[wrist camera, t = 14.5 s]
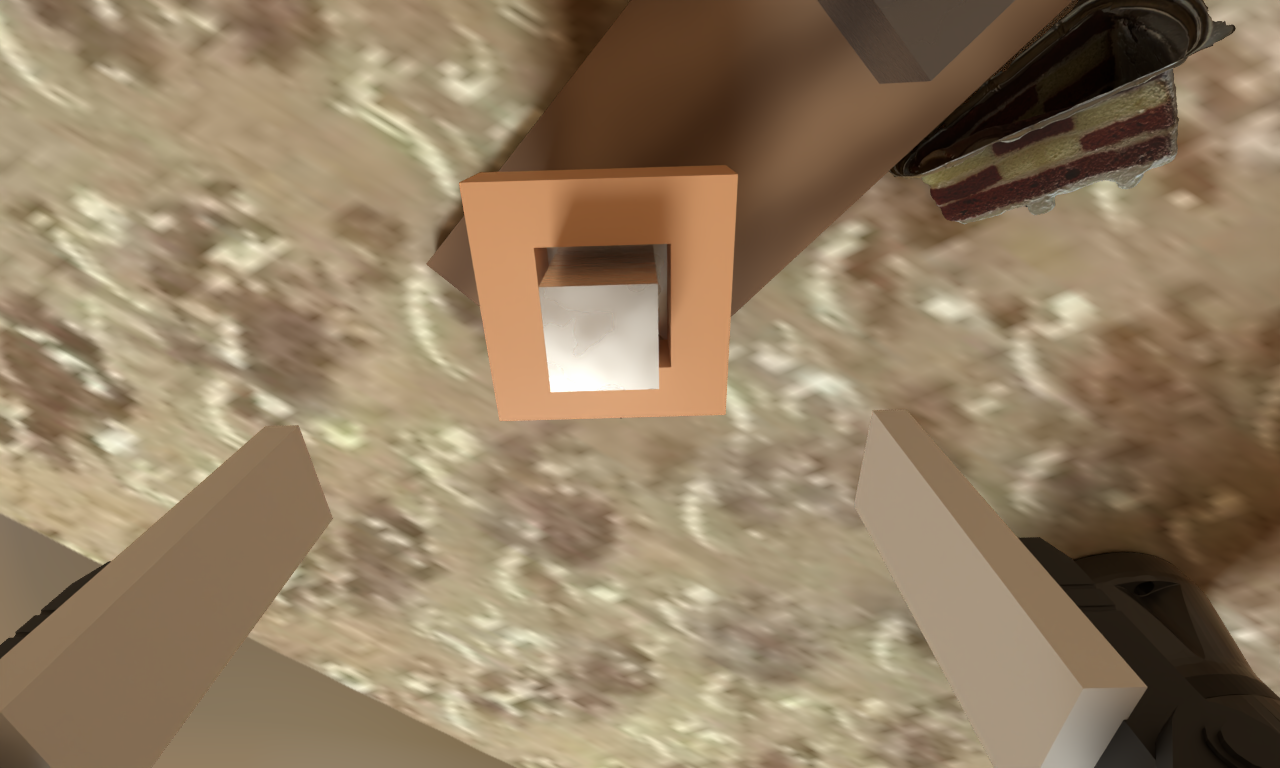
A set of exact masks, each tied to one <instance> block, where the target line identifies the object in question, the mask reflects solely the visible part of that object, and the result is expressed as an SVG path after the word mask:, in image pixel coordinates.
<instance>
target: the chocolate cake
mask: <svg viewBox="0 0 1280 768" xmlns="http://www.w3.org/2000/svg"><path fill="white" fill-rule="evenodd" d="M1207 11H1208V7H1207V6H1206V5H1205V3H1204V1H1203V0H1079V1H1078V3H1077V4H1076V6H1075V7H1074V8H1073V10H1072V11H1071V12H1069V13H1068V14H1067V15H1066V16H1065V17H1063V18H1062V19H1060V20H1059V21H1058V22H1057V23H1056V24H1055V25H1053V26H1052V27H1051V28H1050V29H1049V31H1047V33H1045V34H1044V35H1043V36H1042V37H1041V38H1040V39H1038V40H1037V41H1036V42H1034V43H1033V44H1032V45H1031V46H1030V47H1029V48H1028V49H1026V50H1025V51H1024V52H1022V53H1021V54H1020V55H1018V56H1017V58H1016V59H1015V60H1014V61H1013V62H1012V63H1011V65H1010V67H1009V69H1008V70H1007V71H1005V72H1002V71H1000V72H999V73H998V74H997V75H995V76H993V77H991V78H990V79H989V80H988V81H987V82H985V83H983V85H982V86H981V87H980V88H979V90H978V91H977V92H976V93H975V94H974V95H973V96H971V97H970V98H969V102H968V103H964V104H963V105H961V106H959V107H957V108H956V109H955V110H954V111H953V112H952V113H951V114H950V115H949V116H948V117H947V118H946V119H944V120H943V121H942V122H941V123H940V124H939V125H938V126H937V127H936V128H935V129H934V130H933V131H931V132H930V133H929V134H928V135H927V136H926V137H925V138H924V139H923V140H922V141H921V142H920V144H919V145H918V147H917V149H916V150H915V151H914V152H913V153H912V150H911V151H910V152H909V153H908V154H907V155H906V156H904V157H903V158H902V159H901V160H900V161H899V162H898V163H897V164H896V165H895V166H894V167H893V168H891V169H890V170H889V172H890V173H892V174H893V175H894V177H897V176H902V177H904V178H916V179H918V178H922V180H923V182H924V183H926V184H929V185H930V187H931V189H930V193H931V196H932V198H933V199H934V200H935V201H936V204H937V206H939V207H940V208H941V211H942V214H943V215H944V217H945V218H946V219H947V220H950V221H957V222H960V223H963V224H966V223H969V222H973V221H977V220H982V219H986V218H989V217H993V216H997V215H1000V214H1002V213H1004V212H1006V211H1008V210H1011V209H1014V208H1018V207H1022V206H1026V207H1028V209H1029V211H1030V212H1031V213H1032V214H1033V215H1039V214H1044V213H1047V212H1049V211H1051V210H1052V209H1053V208H1054V206H1055V196H1056V195H1060V194H1065V193H1068V192H1073V191H1075V190H1077V189H1080V188H1082V187H1085V186H1088V185H1091V184H1093V183H1095V182H1099V181H1103V180H1108V181H1114V182H1116V183H1117V184H1118V187H1120V188H1122V189H1130V188H1133V187H1134V186H1136V185H1137V184H1138V183H1139V182H1140V180H1141V178H1142V177H1143V174H1144V173H1145V172H1146V171H1148V170H1150V169H1152V168H1156V167H1159V166H1163V165H1165V164H1167V163H1169V162H1171V161H1172V160H1173V159H1174V158H1175V156H1176V154H1177V149H1178V148H1177V135H1178V132H1177V129H1178V122H1179V119H1178V117H1177V113H1178V112H1177V103H1176V87H1175V84H1174V74H1173V68H1175V67H1177V66H1180V65H1181V64H1182V63H1184V62H1185V61H1186V59H1187V57H1188V56H1190V55H1192V54H1194V53H1196V52H1198V51H1200V50H1202V49H1205V48H1207V47H1211V46H1213V44H1214V43H1215V42H1218V41H1220V40H1222V39H1224V38H1225V37H1227V36H1229V35H1230V34H1232V33H1233V32H1234V31H1235V29H1236V28H1235V26H1234V25H1226V23H1225V21H1224V22H1222V21H1217V22H1215V21H1212V19H1211V17H1210V16H1209V14H1208V13H1207ZM944 123H945V128H941V129H939V130H938V128H939V127H940V126H941V125H942V124H944ZM937 130H938V131H937Z"/></svg>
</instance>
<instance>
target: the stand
mask: <svg viewBox="0 0 1280 768" xmlns="http://www.w3.org/2000/svg"><path fill="white" fill-rule="evenodd" d="M817 1H818V2H819V4H820V5H821V6H822V8H823V9H824V10H825V12H826V13H827V14H828V16H829V17H830V18H831V20H832V21H833V23H834V24H835V25H836V27H837V28H838V29H839V31H840V32H841V33H842V35H843V36H844V37H845V39H846V40H847V41H848V43H849V44H850V45H851V47H852V48H853V49H854V51H855V52H856V53H857V55H858V56H859V57H860V59H861V60H862V61H863V63H864V64H865V65H866V67H867V68H868V69H869V71H870V72H871V73H872V75H873V76H874V77H875V79H876V80H877V81H878V83H879V84H886V83H906V82H925V81H932V80H933V79H934V78H935V77H936V76H937V75H938V74H939V73H940V72H941V71H942V70H943V69H944V68H945V67H946V66H947V65H948V64H949V63H950V62H952V61H953V60H954V59H955V58H956V57H957V56H958V55H959V54H960V53H961V52H962V51H963V50H964V49H965V48H966V47H967V46H968V45H969V44H970V43H971V42H972V41H973V40H974V39H975V38H977V37H978V36H979V35H980V34H981V33H982V32H983V31H984V30H985V29H986V28H987V27H988V26H989V25H990V24H991V23H992V22H993V21H994V20H995V19H996V18H997V17H998V16H999V15H1000V14H1002V13H1003V12H1004V11H1005V10H1006V9H1007V8H1008V7H1009V6H1010V5H1011V4H1012V3H1013V2H1014V1H1015V0H817Z"/></svg>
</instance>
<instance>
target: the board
mask: <svg viewBox="0 0 1280 768" xmlns="http://www.w3.org/2000/svg"><path fill="white" fill-rule="evenodd" d="M1072 1H1073V0H1015V1H1014V2H1013V3H1012V4H1011V5H1010V6H1009V7H1008V8H1007V9H1006V10H1005V11H1004V12H1003V13H1002V14H1000V15H999V16H998V17H997V18H996V19H995V20H994V21H993V22H992V23H991V24H990V25H989V26H988V27H987V28H986V29H985V30H984V31H983V32H982V33H981V34H980V35H979V36H978V37H977V38H975V39H974V40H973V41H972V42H971V43H970V44H969V45H968V46H967V47H966V48H965V49H964V50H963V51H962V52H961V53H960V54H959V55H958V56H957V57H956V58H955V59H954V60H953V61H952V62H950V63H949V64H948V65H947V66H946V67H945V68H944V69H943V70H942V71H941V72H940V73H939V74H938V75H937V76H936V77H935V78H934V79H933V80H932V81H925V82H906V83H886V84H879V83H878V81H877V80H876V79H875V77H874V76H873V75H872V73H871V72H870V71H869V69H868V68H867V67H866V65H865V64H864V63H863V61H862V60H861V59H860V57H859V56H858V55H857V53H856V52H855V51H854V49H853V48H852V47H851V45H850V44H849V43H848V41H847V40H846V39H845V37H844V36H843V35H842V33H841V32H840V31H839V29H838V28H837V27H836V25H835V24H834V23H833V21H832V20H831V18H830V17H829V16H828V14H827V13H826V12H825V10H824V9H823V8H822V6H821V5H820V4H819V2H818V1H817V0H631V1H630V3H629V4H628V5H627V6H626V8H625V9H624V10H623V12H622V13H621V14H620V15H619V17H618V18H617V19H616V21H615V22H614V23H613V24H612V26H611V27H610V28H609V30H608V31H607V32H606V33H605V35H604V36H603V37H602V39H601V40H600V41H599V42H598V44H597V45H596V46H595V48H594V49H593V50H592V51H591V53H590V54H589V55H588V57H587V58H586V59H585V60H584V62H583V63H582V64H581V66H580V67H579V68H578V69H577V71H576V72H575V73H574V75H573V76H572V77H571V78H570V80H569V81H568V82H567V84H566V85H565V86H564V87H563V89H562V90H561V91H560V93H559V94H558V95H557V96H556V98H555V99H554V100H553V102H552V103H551V104H550V105H549V107H548V108H547V109H546V111H545V112H544V113H543V115H542V116H541V117H540V118H539V120H538V121H537V122H536V124H535V125H534V126H533V127H532V129H531V130H530V131H529V133H528V134H527V135H526V136H525V138H524V139H523V140H522V142H521V143H520V144H519V145H518V147H517V148H516V149H515V151H514V152H513V153H512V154H511V156H510V157H509V158H508V160H507V161H506V162H505V163H504V165H503V166H502V167H501V169H500V170H499V171H498V172H514V171H547V170H580V169H613V168H646V167H679V166H712V165H726V166H728V167H729V168H730V169H732V170H733V171H734V172H736V173H737V174H738V185H737V204H736V223H735V242H734V261H733V280H732V299H731V316H732V315H734V314H735V313H736V312H737V311H738V310H739V309H740V308H741V307H742V306H743V305H744V304H745V303H747V302H748V301H749V300H750V299H751V298H752V297H753V296H754V295H755V294H756V293H757V292H758V291H760V290H761V289H762V288H763V287H764V286H765V285H766V284H767V283H768V282H769V281H770V280H771V279H772V278H774V277H775V276H776V275H777V274H778V273H779V272H780V271H781V270H782V269H783V268H784V267H785V266H787V265H788V264H789V263H790V262H791V261H792V260H793V259H794V258H795V257H796V256H797V255H798V254H800V253H801V252H802V251H803V250H804V249H805V248H806V247H807V246H808V245H809V244H810V243H811V242H813V241H814V240H815V239H816V238H817V237H818V236H819V235H820V234H821V233H822V232H823V231H824V230H825V229H827V228H828V227H829V226H830V225H831V224H832V223H833V222H834V221H835V220H836V219H837V218H838V217H840V216H841V215H842V214H843V213H844V212H845V211H846V210H847V209H848V208H849V207H850V206H851V205H853V204H854V203H855V202H856V201H857V200H858V199H859V198H860V197H861V196H862V195H863V194H864V193H866V192H867V191H868V190H869V189H870V188H871V187H872V186H873V185H874V184H875V183H876V182H877V181H878V180H880V179H881V178H882V177H883V176H884V175H885V174H886V173H887V172H888V171H889V170H890V169H891V168H893V167H894V166H895V165H896V164H897V163H898V162H899V161H900V160H901V159H902V158H903V157H904V156H906V155H907V154H908V153H909V152H910V151H911V150H912V149H913V148H914V147H915V146H916V145H917V144H919V143H920V142H921V141H922V140H923V139H924V138H925V137H926V136H927V135H928V134H929V133H930V132H931V131H933V130H934V129H935V128H936V127H937V126H938V125H939V124H940V123H941V122H942V121H943V120H944V119H946V118H947V117H948V116H949V115H950V114H951V113H952V112H953V111H954V110H955V109H956V108H957V107H959V106H960V105H961V104H962V103H963V102H964V101H965V100H966V99H967V98H968V97H969V96H970V95H972V94H973V93H974V92H975V91H976V90H977V89H978V88H979V87H980V86H981V85H982V84H983V83H984V82H986V81H987V80H988V79H989V78H990V77H991V76H992V75H993V74H994V73H995V72H996V71H997V70H999V69H1000V68H1001V67H1002V66H1003V65H1004V64H1005V63H1006V62H1007V61H1008V60H1009V59H1010V58H1012V57H1013V56H1014V55H1015V54H1016V53H1017V52H1018V51H1019V50H1020V49H1021V48H1022V47H1023V46H1025V45H1026V44H1027V43H1028V42H1029V41H1030V40H1031V39H1032V38H1033V37H1034V36H1035V35H1036V34H1037V33H1039V32H1040V31H1041V30H1042V29H1043V28H1044V27H1045V26H1046V25H1047V24H1048V23H1049V22H1050V21H1052V20H1053V19H1054V18H1055V17H1056V16H1057V15H1058V14H1059V13H1060V12H1061V11H1062V10H1063V9H1065V8H1066V7H1067V6H1068V5H1069V4H1070V3H1071V2H1072ZM427 265H428V266H429V267H430V268H432V269H433V270H434V271H435V272H437V273H438V274H439V275H441V276H442V277H443V278H444V279H446V280H447V281H448V282H449V283H451V284H452V285H453V286H454V287H456V288H457V289H458V290H459V291H461V292H462V293H463V294H464V295H466V296H467V297H468V298H470V299H471V300H472V301H473V302H475V303H476V304H477V305H478V306H480V303H479V297H478V291H477V285H476V280H475V274H474V268H473V262H472V256H471V250H470V244H469V239H468V233H467V227H466V221H465V215H464V216H463V217H462V219H461V220H460V221H459V223H458V224H457V225H456V226H455V228H454V229H453V230H452V232H451V233H450V234H449V236H448V237H447V238H446V239H445V241H444V242H443V243H442V245H441V246H440V247H439V248H438V250H437V251H436V252H435V254H434V255H433V256H432V257H431V259H430V260H429V261H428V263H427Z"/></svg>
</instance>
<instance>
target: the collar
mask: <svg viewBox="0 0 1280 768" xmlns="http://www.w3.org/2000/svg"><path fill="white" fill-rule="evenodd" d="M737 185H738V174H737V173H736V172H734V171H733V170H732V169H730V168H729V167H728V166H726V165H712V166H679V167H646V168H613V169H580V170H547V171H514V172H480V173H478V174H476V175H474V176H472V177H470V178H468V179H466V180H464V181H462V182H460V183H459V186H460V192H461V198H462V204H463V209H464V215H465V221H466V227H467V233H468V239H469V244H470V250H471V256H472V262H473V268H474V274H475V280H476V285H477V291H478V297H479V303H480V309H481V315H482V320H483V326H484V332H485V338H486V344H487V350H488V356H489V361H490V367H491V373H492V379H493V385H494V391H495V396H496V402H497V408H498V414H499V420H500V421H518V420H554V419H589V418H625V417H661V416H697V415H725V414H726V395H727V376H728V357H729V338H730V318H731V299H732V280H733V261H734V242H735V223H736V204H737ZM646 244H667V340H658V342H659V389H642V390H606V391H571V392H551V390H550V381H549V373H548V364H547V356H546V347H545V339H544V330H543V322H542V313H541V305H540V296H539V288H538V287H539V285H540V283H541V281H542V279H543V277H544V275H545V273H546V271H547V269H548V267H549V262H548V253H547V247H578V246H612V245H646Z"/></svg>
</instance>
